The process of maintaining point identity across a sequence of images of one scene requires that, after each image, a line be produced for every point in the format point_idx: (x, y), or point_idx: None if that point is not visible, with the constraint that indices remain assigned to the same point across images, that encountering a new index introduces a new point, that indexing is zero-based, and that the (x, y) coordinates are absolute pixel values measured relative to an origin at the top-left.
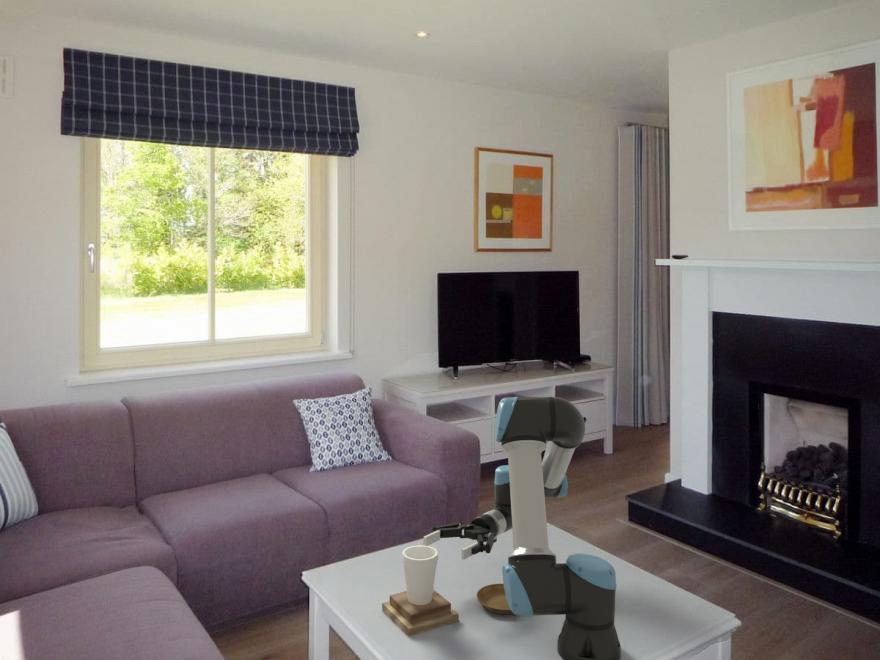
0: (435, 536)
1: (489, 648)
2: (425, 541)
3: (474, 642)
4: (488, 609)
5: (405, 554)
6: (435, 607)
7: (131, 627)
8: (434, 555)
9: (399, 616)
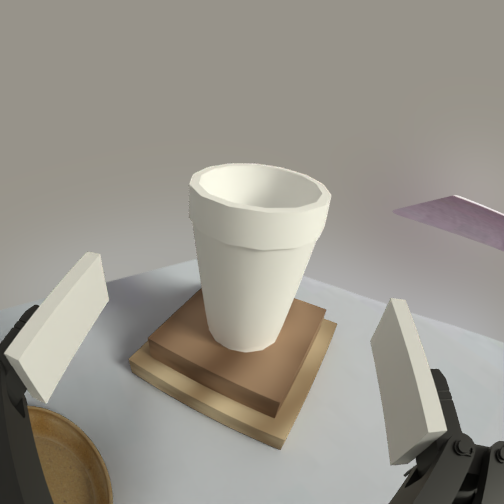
0: (402, 396)
1: None
2: (382, 318)
3: None
4: (62, 435)
5: (308, 191)
6: (181, 309)
7: (461, 218)
8: (197, 180)
9: None
